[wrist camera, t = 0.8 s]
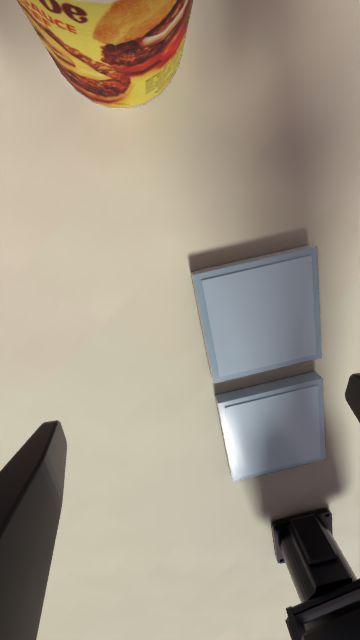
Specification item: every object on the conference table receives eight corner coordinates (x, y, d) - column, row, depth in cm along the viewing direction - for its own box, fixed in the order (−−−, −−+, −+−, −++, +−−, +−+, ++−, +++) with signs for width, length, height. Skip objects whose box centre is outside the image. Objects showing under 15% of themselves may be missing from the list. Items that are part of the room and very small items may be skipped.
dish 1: (313, 351, 25) (322, 358, 24) (211, 375, 25) (214, 384, 23) (308, 245, 22) (317, 246, 20) (190, 272, 21) (193, 275, 20)
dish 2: (318, 449, 29) (326, 459, 27) (229, 471, 28) (233, 482, 27) (314, 371, 26) (323, 379, 24) (214, 395, 25) (218, 404, 24)
